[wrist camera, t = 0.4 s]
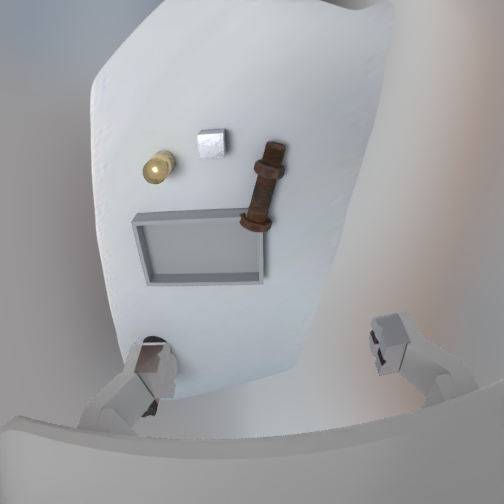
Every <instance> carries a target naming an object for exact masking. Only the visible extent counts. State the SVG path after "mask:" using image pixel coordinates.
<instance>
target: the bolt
mask: <svg viewBox="0 0 504 504" xmlns="http://www.w3.org/2000/svg"><path fill="white" fill-rule="evenodd" d="M265 147H266V148H265V150H264V151H265V152H264V154H263V155H264V156H263V158H262V159H263V160H258V161H257V162H256V163H255V166H254V170H255V172H256V173H257V174H258V177H257V178H258V179H257V181H256V184H255V188H254V192H253V195H252V199H251V203H250V206H249V209H248V212H247V217H246V214H245V212H244V213H242V214H240V217H241V220H240V221H239V223H240V224H241V226H242V227H244V228H245V229H247V230H249V231H252V232H259V233H261V232H266V231H268V230H269V229H270V227H271V225H272V221H271V220H270V219H269V218H268V217H267V214H268V209H269V204H270V202H271V198H272V195H273V191H274V187H275V182H276V180H277V179H280V178H282V177H283V175H284V171H285V169H284V167H283V166H282V165H281V161H282V160H281V159H283V158H282V157H283V155H284V154H283V153H284V151H285V146H284V145H283V144H280V143H276V142H270V141H268V142H267V143H266V146H265Z"/></svg>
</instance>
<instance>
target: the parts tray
mask: <svg viewBox="0 0 504 504" xmlns="http://www.w3.org/2000/svg"><path fill="white" fill-rule="evenodd" d="M248 209H249V208H239V209H212V210H189V211H170V212H152V213H137V215H136V216H135V218H134V219H133V220H132V222H131V223H132V227H133V232H134V236H135V240H136V244H137V248H138V252H139V256H140V260H141V264H142V268H143V272H144V276H145V279H146V283H147V286H208V285H257V284H264V282H263V232H261V233H259V232H252V231H249V230H247V229H245V228H244V227H242V226H241V224H240V223H239V221H240V220H241V217H240V214H242V213H244V212H245V214H246V217H247V212H248Z"/></svg>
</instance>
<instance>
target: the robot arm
mask: <svg viewBox="0 0 504 504" xmlns="http://www.w3.org/2000/svg"><path fill="white" fill-rule="evenodd" d="M371 325H372V328H373V330H372V331H371V332H370V337H369V338H370V348H371V351H372V354H373V355H374V356H375V357H376V362H375V364H376V367H377V370H378V373H379V376H382V375H386V374H392V373H397V372H399V373H400V374H401V375H402V376H403V377H404V378H405V379H406V380H407V381H408V382H409V383H411V384H412V385H413V386H414V387H415V388H416V389H418V391H420V392H421V393H422V394H423V395H424V396H425V397H426V400H425V401H424V403H423V405H422V407H421V409H419V410H415V411H411V412H408V413H404V414H401V415H397V416H393V417H389V418H384V419H380V420H376V421H371V422H367V423H362V424H357V425H352V426H347V427H341V428H335V429H329V430H323V431H316V432H309V433H301V434H293V435H285V436H273V437H260V438H245V439H244V438H243V439H209V440H208V439H205V440H204V439H203V440H202V439H167V438H151V437H139V435H138V434H137V433H135V432H134V431H133V429H132V427H133V426H134V425H135V424H136V422H137V421H138V420H139V419H140V417H141V416H142V415H143V414H144V412H145V411H146V410H147V408H148V407H149V406H150V405H151V403H152V402H153V401H154V400H155V399H154V398H173V395H174V390H175V383H174V382H173V380H174V379H175V378H176V377H177V373H178V363H177V359H176V357H175V355H174V354H172V353H171V352H170V350H171V347H170V345H169V344H168V343H167V342H158V343H134V344H133V345H132V346H131V348H130V351H129V354H128V357H127V360H126V364H125V367H124V370H123V373H119V374H118V375H117V376H116V377H115V378H114V379H113V380H112V381H110V382H109V383H108V384H107V385H106V386H105V387H104V388H103V389H102V390H101V391H100V392H99V393H98V394H96V395H95V396H94V397H93V398H92V399H91V400H90V401H89V402H88V403H87V404H86V405H85V406H84V409H83V412H82V415H81V418H80V421H79V424H78V427H77V428H72V427H67V426H62V425H57V424H53V423H48V422H44V421H40V420H36V419H32V418H28V417H24V416H15V417H14V418H12V419H11V420H9V421H8V422H7V423H6V424H4V425H3V426H2V427H1V428H0V504H504V379H501V380H499V381H497V382H494V383H492V384H490V385H487V386H485V387H483V388H480V389H479V387H478V385H477V382H476V380H475V378H474V376H473V374H472V372H471V370H470V368H469V366H468V365H467V364H465V363H464V362H462V361H461V360H459V359H457V358H456V357H454V356H453V355H451V354H450V353H448V352H446V351H445V350H443V349H442V348H440V347H439V346H437V345H435V344H434V343H432V342H431V341H429V340H427V339H423V338H422V336H421V334H420V332H419V330H418V328H417V326H416V324H415V322H414V320H413V318H412V316H411V314H410V312H409V311H404V312H399V313H394V314H389V315H384V316H379V317H374V318H373V319H372V323H371Z"/></svg>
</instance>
